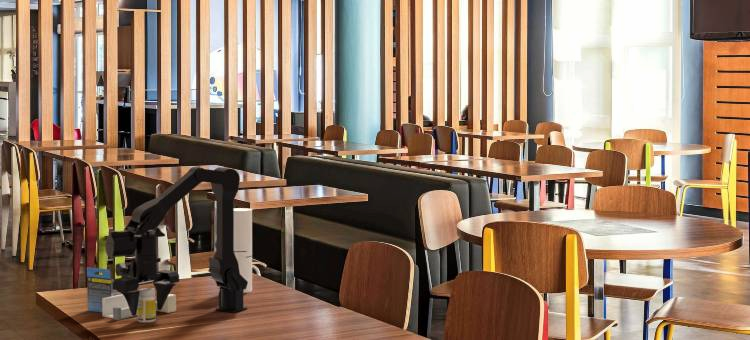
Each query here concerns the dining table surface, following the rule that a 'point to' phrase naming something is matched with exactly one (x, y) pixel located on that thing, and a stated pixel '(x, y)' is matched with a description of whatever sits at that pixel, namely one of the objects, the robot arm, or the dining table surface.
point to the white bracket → (120, 309)
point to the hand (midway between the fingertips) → (146, 312)
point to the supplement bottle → (146, 305)
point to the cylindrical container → (243, 243)
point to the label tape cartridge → (99, 288)
